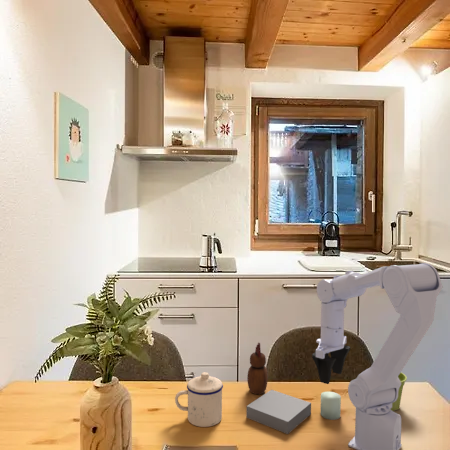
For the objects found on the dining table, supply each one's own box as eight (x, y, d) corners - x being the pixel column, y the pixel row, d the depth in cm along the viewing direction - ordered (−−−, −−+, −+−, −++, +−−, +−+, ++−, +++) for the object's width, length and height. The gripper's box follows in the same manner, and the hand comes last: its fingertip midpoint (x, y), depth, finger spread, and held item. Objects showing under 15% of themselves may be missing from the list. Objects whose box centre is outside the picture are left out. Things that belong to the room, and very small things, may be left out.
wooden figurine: (266, 397, 116) (266, 345, 115) (245, 395, 117) (246, 343, 116) (268, 387, 123) (269, 337, 122) (249, 385, 124) (249, 336, 123)
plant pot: (369, 411, 109) (370, 379, 108) (368, 395, 118) (368, 366, 117) (407, 417, 106) (408, 384, 105) (403, 400, 115) (404, 370, 114)
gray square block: (310, 414, 107) (311, 402, 107) (287, 434, 98) (288, 421, 98) (271, 400, 115) (271, 389, 114) (246, 417, 105) (246, 406, 105)
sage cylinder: (343, 414, 107) (343, 395, 107) (335, 421, 103) (336, 402, 103) (325, 408, 110) (325, 389, 110) (317, 415, 107) (317, 396, 106)
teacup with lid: (221, 408, 109) (221, 365, 109) (224, 427, 100) (224, 380, 100) (175, 410, 108) (175, 367, 108) (174, 429, 99) (174, 382, 99)
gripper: (329, 316, 114) (328, 365, 115) (304, 329, 103) (303, 382, 103) (354, 321, 110) (353, 371, 110) (331, 335, 98) (330, 390, 99)
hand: (331, 377), depth 106 cm, fingers open, 7 cm apart
